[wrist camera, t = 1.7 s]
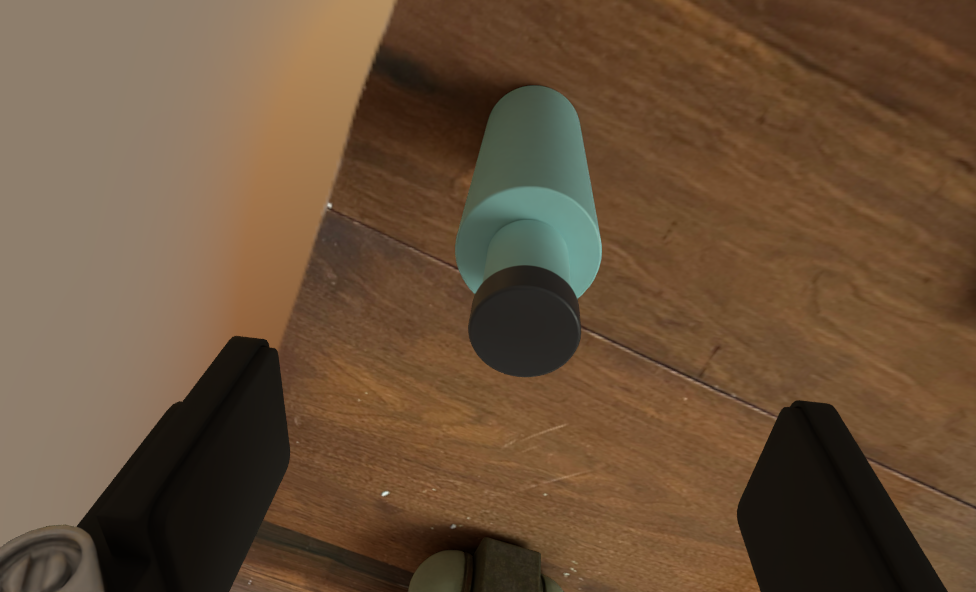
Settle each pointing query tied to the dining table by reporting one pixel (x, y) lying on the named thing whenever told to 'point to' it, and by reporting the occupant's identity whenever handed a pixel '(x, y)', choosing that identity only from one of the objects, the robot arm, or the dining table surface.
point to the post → (483, 571)
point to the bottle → (529, 234)
